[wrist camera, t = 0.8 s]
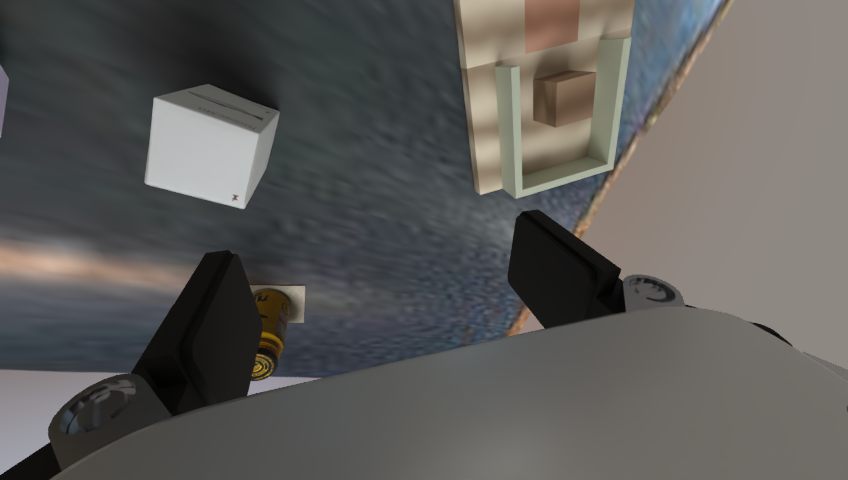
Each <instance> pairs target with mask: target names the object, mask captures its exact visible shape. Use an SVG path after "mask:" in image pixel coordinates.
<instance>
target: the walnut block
mask: <svg viewBox="0 0 848 480" xmlns="http://www.w3.org/2000/svg"><path fill="white" fill-rule="evenodd" d="M596 74H597V72H587V71H574V70H567V71H564V72H560V73H556V74H552V75H548V76H545V77H541V78H537V79H533V120H534V121H537V122H540V123H543V124H546V125H549V126H552V127H555V128H557V127H560V126H564V125H567V124H571V123H574V122H578V121H581V120H585V119H588V118H592V116H593V106H594V95H595V85H596Z"/></svg>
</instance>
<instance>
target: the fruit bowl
mask: <svg viewBox="0 0 848 480" xmlns="http://www.w3.org/2000/svg"><path fill="white" fill-rule="evenodd" d="M8 83H9V79H8V77H7V75H6V73H5V72H4V70H3V68H2V66H1V65H0V138H1V133H2V126H3V119H4V112H5V105H6V98H7V91H8Z"/></svg>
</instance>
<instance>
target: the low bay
mask: <svg viewBox="0 0 848 480" xmlns="http://www.w3.org/2000/svg"><path fill="white" fill-rule="evenodd" d="M631 38H632V37H626V38H606V39H602V40H599V45H598V55H597V66H596V72H597V74H596V85H595V95H594V106H593V116H592V120H591V130H590V141H589V152H588V156H587V157H584V158H581V159H577V160H574V161H571V162H567V163H564V164H561V165H557V166H554V167H551V168H547V169H544V170H541V171H537V172H534V173H531V174H527V175H524V176H522V150H521V109H520V68H519V66H514V65H499V66H495V77H496V93H497V109H498V125H499V141H500V157H501V173H502V188H503V189H504V190H505V191H507V192H508V193H509V194H510V195H512V196H513V197H514V198H516V199H517V198H520V197H523V196H527V195H530V194H533V193H536V192H540V191H543V190H546V189H549V188H553V187H556V186H559V185H563V184H566V183H569V182H572V181H576V180H579V179H582V178H585V177H589V176H592V175H595V174H598V173H602V172H605V171H608V170H611V169H613V166H614V159H615V152H616V145H617V137H618V130H619V123H620V116H621V109H622V102H623V95H624V88H625V81H626V74H627V67H628V59H629V52H630V45H631Z"/></svg>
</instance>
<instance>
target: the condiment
mask: <svg viewBox="0 0 848 480" xmlns="http://www.w3.org/2000/svg"><path fill="white" fill-rule="evenodd" d="M250 288H251V291H252V294H253V296H254V299H255V302H256V305H257V307H258V310H259V313H260V316H261V319H262V323H263V330H262V335H261V339H260V343H259V348H258V352H257V356H256V360H255V364H254V369H253V373H252V377H251V381H259V380H263V379H265V378H267V377H269V376H270V375H271V374H272V373H273V372H274V371H275V370H276V369H277V366H278V360H279V357H280V355H281V354H282V352H283V348H284V342H285V335H286V329H287V323H304V304H305V286H274V285H250ZM288 295H289V296H288ZM290 296H292V297H290Z"/></svg>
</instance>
